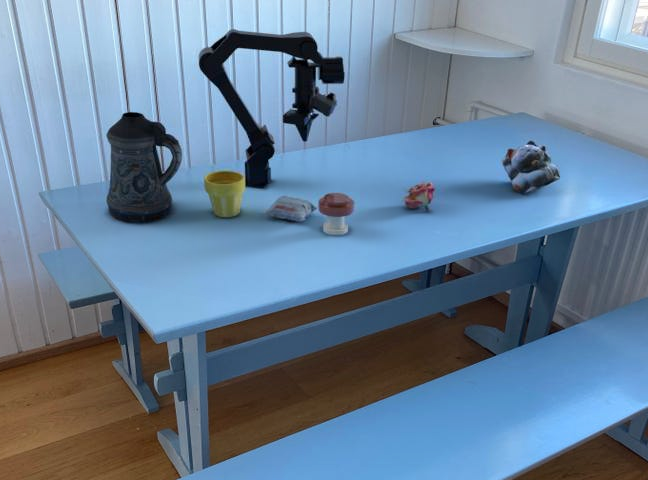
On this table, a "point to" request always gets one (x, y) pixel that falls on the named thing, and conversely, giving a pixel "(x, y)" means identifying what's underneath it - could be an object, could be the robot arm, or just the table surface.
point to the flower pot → (225, 191)
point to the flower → (419, 196)
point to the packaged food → (291, 208)
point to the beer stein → (140, 169)
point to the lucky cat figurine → (530, 167)
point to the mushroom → (335, 212)
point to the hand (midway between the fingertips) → (305, 141)
